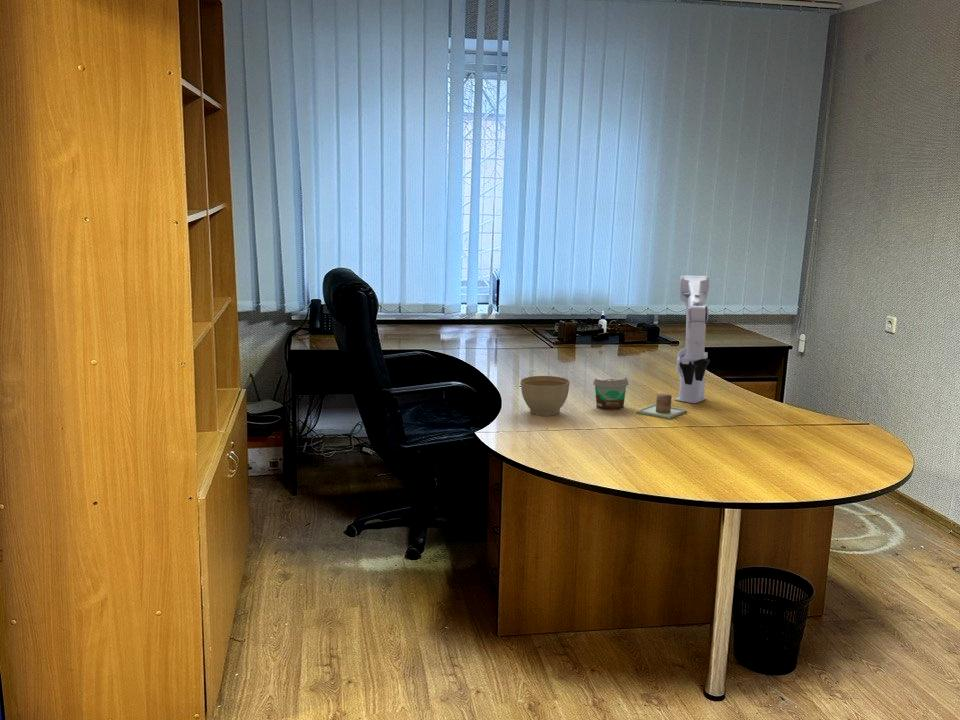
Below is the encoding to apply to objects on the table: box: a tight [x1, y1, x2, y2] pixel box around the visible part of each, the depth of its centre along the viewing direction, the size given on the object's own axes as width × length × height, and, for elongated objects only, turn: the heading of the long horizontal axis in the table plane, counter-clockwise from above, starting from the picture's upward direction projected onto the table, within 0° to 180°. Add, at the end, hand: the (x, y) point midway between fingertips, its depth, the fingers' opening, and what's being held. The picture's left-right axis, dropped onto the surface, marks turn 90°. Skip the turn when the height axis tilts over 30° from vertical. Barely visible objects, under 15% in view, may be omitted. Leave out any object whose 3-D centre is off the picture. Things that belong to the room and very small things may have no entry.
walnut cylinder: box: [655, 393, 673, 413], centre depth 292 cm, size 5×5×6 cm
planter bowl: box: [520, 375, 571, 417], centre depth 290 cm, size 16×16×11 cm
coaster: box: [636, 403, 688, 420], centre depth 293 cm, size 12×12×1 cm
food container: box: [592, 376, 629, 411], centre depth 297 cm, size 12×6×10 cm, turn 105°
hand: (693, 382), depth 293 cm, fingers open, 7 cm apart
